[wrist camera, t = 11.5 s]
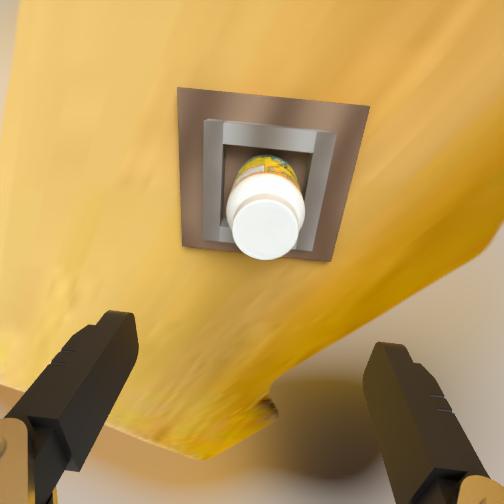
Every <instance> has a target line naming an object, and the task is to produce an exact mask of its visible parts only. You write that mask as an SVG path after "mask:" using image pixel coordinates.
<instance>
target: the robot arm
mask: <svg viewBox="0 0 504 504" xmlns="http://www.w3.org/2000/svg"><path fill="white" fill-rule="evenodd" d="M138 350H139V344H138V337H137V331H136V324H135V317H134V314H133V313H129V312H120V311H111V310H109V311H107V312H106V313H105V314H104V315H103V316H102V318H101V319H100V320H99V322H98V323H97V324H96V325H87V326H86V327H84V328H83V329H81V330H80V331H79V332H77V333H76V334H74V335H73V336H72V337H71V338H70V339H69V341H68V342H67V343H66V344H65V345H64V347H63V348H62V349H61V352H59V353H58V354H57V355H56V356H55V357H54V359H53V360H52V362H51V364H49V365H48V366H47V367H46V368H45V370H44V371H43V372H42V373H41V374H40V376H39V377H38V378H37V379H36V380H35V382H34V383H33V384H32V385H31V386H30V388H29V389H28V390H27V391H26V392H25V394H24V395H23V396H22V397H21V399H20V400H19V401H18V402H17V403H16V405H15V406H14V407H13V408H12V409H11V411H10V412H9V413H8V414H7V415H6V416H5V417H4V418H2V419H0V504H58V503H57V490H56V484H57V483H58V481H59V479H60V477H61V475H62V474H63V472H64V470H68V471H76V472H80V470H81V468H82V466H83V464H84V462H85V460H86V458H87V456H88V454H89V452H90V450H91V448H92V446H93V445H94V442H95V441H96V438H97V437H98V435H99V433H100V431H101V429H102V427H103V425H104V423H105V421H106V419H107V417H108V415H109V413H110V412H111V410H112V408H113V406H114V404H115V402H116V400H117V398H118V396H119V394H120V392H121V390H122V388H123V386H124V384H125V382H126V380H127V379H128V377H129V375H130V373H131V371H132V369H133V367H134V365H135V363H136V360H137V356H138ZM363 390H364V394H365V398H366V401H367V405H368V408H369V412H370V415H371V419H372V422H373V425H374V429H375V433H376V436H377V439H378V443H379V446H380V450H381V453H382V457H383V460H384V463H385V467H386V470H387V474H388V477H389V481H390V484H391V488H392V491H393V495H394V498H395V502H396V504H504V487H503V486H502V485H500V484H499V483H497V482H495V481H493V480H492V479H491V478H490V477H489V475H488V474H487V472H486V471H485V469H484V467H483V465H482V463H481V461H480V460H479V458H478V456H477V454H476V452H475V451H474V449H473V447H472V445H471V443H470V441H469V440H468V438H467V436H466V434H465V432H464V431H463V429H462V427H461V425H460V423H459V422H458V420H457V418H456V416H455V414H454V413H452V409H451V407H450V405H449V403H448V401H447V400H446V399H445V398H444V394H443V392H442V390H441V389H440V387H439V385H438V383H437V381H436V380H435V378H434V377H433V376H432V375H431V374H430V373H429V372H428V371H427V370H426V369H425V368H424V367H423V366H422V365H421V364H419V363H413V361H412V359H411V357H410V355H409V353H408V351H407V349H406V347H405V346H403V345H402V344H393V343H385V342H377V343H376V344H375V346H374V349H373V351H372V354H371V356H370V359H369V361H368V364H367V366H366V369H365V371H364V375H363Z"/></svg>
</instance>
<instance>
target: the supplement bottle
mask: <svg viewBox="0 0 504 504" xmlns="http://www.w3.org/2000/svg"><path fill="white" fill-rule="evenodd" d="M226 215H227V221H228V224H229V226H230V229H231V230H232V235H233V239H234V241H235V243H236V245H237V246H238V248H239V249H240V250H241V251H242V252H243V253H245V254H246V255H248V256H250V257H252V258H255V259H259V260H272V259H276V258H279V257H281V256H283V255H285V254H286V253H288V252H289V251H290V250H291V249H292V247H293V246H294V245H295V243H296V241H297V238H298V234H299V231H300V229H301V227H302V225H303V222H304V218H305V205H304V200H303V196H302V193H301V190H300V187H299V184H298V181H297V178H296V175H295V173H294V171H293V169H292V167H291V166H290V165H289V164H288V163H287V162H286V161H284V160H282V159H280V158H278V157H276V156H272V155H259V156H256V157H253V158H251V159H250V160H248V161H247V162H246V163H245V164H244V165H243V166H242V167H241V168H240V170H239V172H238V174H237V176H236V179H235V181H234V184H233V187H232V190H231V193H230V195H229V198H228V202H227V207H226Z"/></svg>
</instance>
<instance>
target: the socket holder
mask: <svg viewBox="0 0 504 504" xmlns="http://www.w3.org/2000/svg"><path fill="white" fill-rule="evenodd" d="M177 98H178V129H179V160H180V191H181V222H182V246H186V247H195V248H205V249H214V250H224V251H233V252H242V251H241V250H240V249H239V248H238V246H237V245H236V243H235V241H234V239H233V235H232V230H231V229H230V226H229V224H228V221H227V215H226V207H227V202H228V198H229V195H230V193H231V190H232V187H233V184H234V181H235V179H236V176H237V174H238V172H239V170H240V168H241V167H242V166H243V165H244V164H245V163H246V162H247V161H248V160H250V159H251V158H253V157H256V156H259V155H272V156H276V157H278V158H280V159H282V160H284V161H286V162H287V163H288V164H289V165H290V166H291V167H292V169H293V171H294V173H295V175H296V178H297V181H298V184H299V187H300V190H301V193H302V196H303V200H304V205H305V218H304V222H303V225H302V227H301V229H300V231H299V234H298V238H297V241H296V243H295V245H294V246H293V247H292V249H291V250H290V251H289V252H288V253H286V254H285V255H283V256H281V257H290V258H299V259H309V260H318V261H328V262H331V260H332V256H333V252H334V248H335V244H336V240H337V236H338V232H339V228H340V224H341V220H342V216H343V212H344V208H345V204H346V200H347V196H348V192H349V188H350V184H351V180H352V176H353V172H354V169H355V165H356V161H357V157H358V153H359V149H360V145H361V141H362V137H363V133H364V129H365V125H366V121H367V117H368V113H369V109H370V106H363V105H353V104H343V103H333V102H323V101H313V100H303V99H292V98H282V97H272V96H262V95H252V94H242V93H232V92H222V91H212V90H202V89H192V88H181V87H177Z"/></svg>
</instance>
